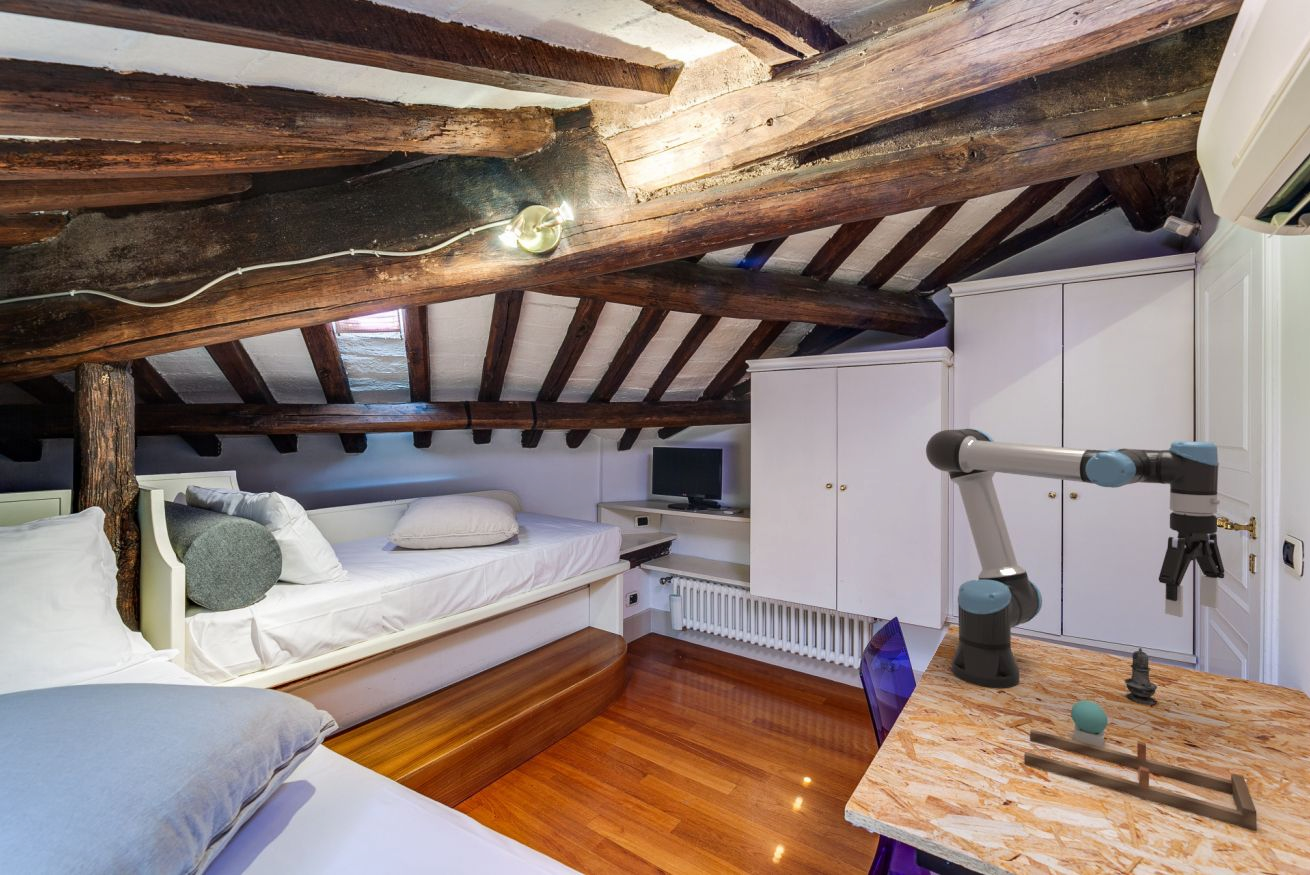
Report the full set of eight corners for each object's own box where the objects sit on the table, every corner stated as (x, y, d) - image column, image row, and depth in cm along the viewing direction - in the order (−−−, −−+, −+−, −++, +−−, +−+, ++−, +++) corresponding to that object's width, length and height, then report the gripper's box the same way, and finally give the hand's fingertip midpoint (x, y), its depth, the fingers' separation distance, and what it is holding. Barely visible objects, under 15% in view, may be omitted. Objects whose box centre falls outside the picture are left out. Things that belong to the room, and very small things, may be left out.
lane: (1024, 763, 111) (1024, 738, 111) (1030, 737, 120) (1030, 714, 120) (1256, 830, 92) (1256, 800, 92) (1243, 793, 101) (1243, 766, 101)
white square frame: (1074, 740, 118) (1074, 730, 118) (1075, 730, 122) (1075, 721, 122) (1104, 748, 115) (1103, 738, 115) (1104, 737, 119) (1104, 727, 119)
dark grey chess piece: (1164, 704, 132) (1163, 652, 132) (1138, 705, 132) (1137, 652, 132) (1143, 693, 138) (1142, 642, 138) (1118, 693, 138) (1117, 643, 138)
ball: (1070, 733, 118) (1070, 703, 118) (1071, 721, 123) (1071, 692, 123) (1107, 742, 115) (1107, 712, 114) (1107, 729, 119) (1107, 700, 119)
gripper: (1181, 520, 117) (1180, 624, 118) (1246, 511, 127) (1244, 607, 128) (1138, 514, 124) (1137, 613, 125) (1203, 506, 134) (1201, 598, 134)
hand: (1191, 610), depth 126 cm, fingers open, 13 cm apart
